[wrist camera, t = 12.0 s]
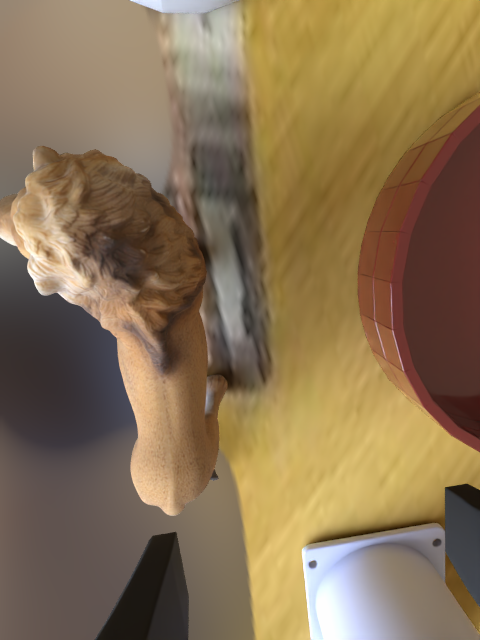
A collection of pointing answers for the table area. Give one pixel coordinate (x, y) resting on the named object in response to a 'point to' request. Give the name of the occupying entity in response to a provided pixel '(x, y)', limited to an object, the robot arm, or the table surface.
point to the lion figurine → (129, 304)
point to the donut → (184, 5)
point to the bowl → (429, 274)
